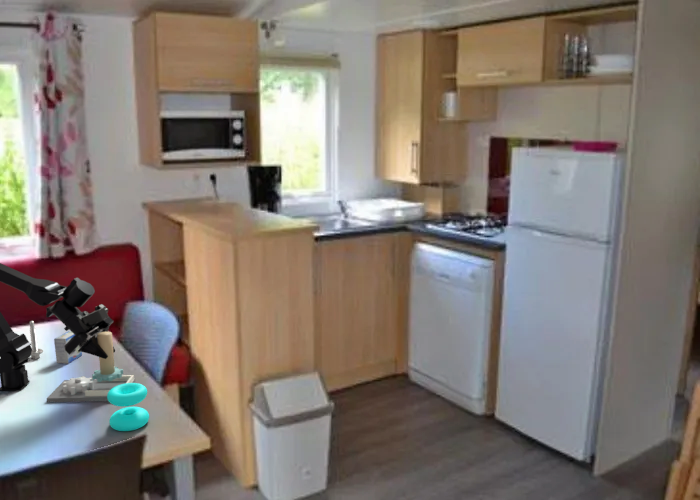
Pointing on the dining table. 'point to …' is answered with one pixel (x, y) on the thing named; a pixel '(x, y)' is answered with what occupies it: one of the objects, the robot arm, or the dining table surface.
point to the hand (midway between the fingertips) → (110, 355)
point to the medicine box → (60, 349)
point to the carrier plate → (86, 389)
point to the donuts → (130, 415)
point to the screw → (34, 342)
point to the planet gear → (106, 360)
